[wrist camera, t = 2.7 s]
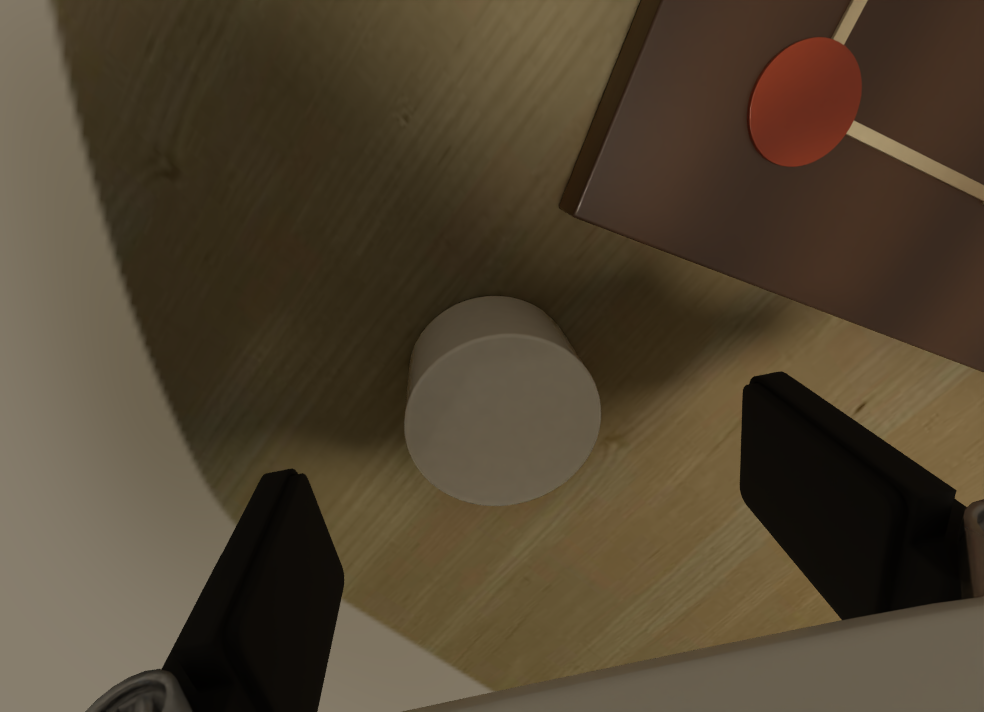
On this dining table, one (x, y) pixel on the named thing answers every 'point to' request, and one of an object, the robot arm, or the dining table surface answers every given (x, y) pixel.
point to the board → (806, 155)
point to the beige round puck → (498, 403)
